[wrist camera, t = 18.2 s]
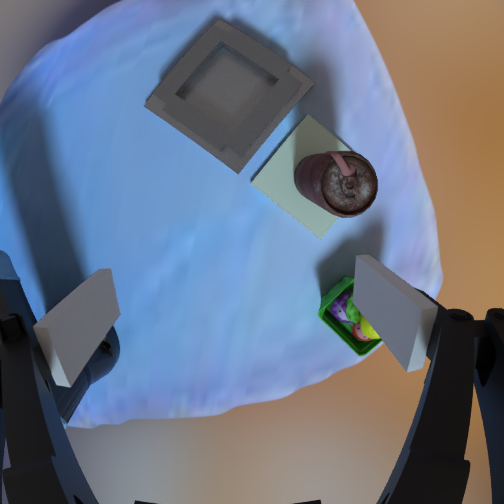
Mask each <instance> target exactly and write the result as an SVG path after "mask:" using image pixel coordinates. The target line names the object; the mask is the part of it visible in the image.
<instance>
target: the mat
mask: <svg viewBox="0 0 504 504" xmlns="http://www.w3.org/2000/svg"><path fill="white" fill-rule="evenodd" d="M326 151H351V150H349V149H348V148H347V147H346V146H345V145H344V144H343V143H342V142H341V141H339V140H338V139H337V138H336V137H335V136H334V135H333V134H331V133H330V132H329V131H328V130H327V129H326V128H325V127H323V126H322V125H321V124H320V123H319V122H317V121H316V120H315V119H314V118H313V117H311V116H310V115H309V114H307V115H306V117H305V118H304V119H303V120H302V121H301V123H300V124H299V125H298V126H297V127H296V128H295V130H294V131H293V132H292V133H291V134H290V136H289V137H288V138H287V139H286V140H285V142H284V143H283V144H282V145H281V146H280V148H279V149H278V150H277V151H276V153H275V154H274V155H273V156H272V157H271V159H270V160H269V161H268V162H267V164H266V165H265V166H264V167H263V169H262V170H261V171H260V172H259V174H258V175H257V176H256V177H255V179H254V180H253V181H252V182H251V184H252V185H253V186H254V187H256V188H257V189H258V190H259V191H261V192H262V193H263V194H265V195H266V196H267V197H268V198H270V199H271V200H272V201H273V202H275V203H276V204H277V205H278V206H280V207H281V208H282V209H283V210H285V211H286V212H287V213H288V214H290V215H291V216H292V217H293V218H295V219H296V220H297V221H298V222H300V223H301V224H302V225H303V226H304V227H306V228H307V229H308V230H309V231H310V232H312V233H313V234H314V235H315V236H317V237H318V238H319V239H320V240H321V238H322V237H323V236H324V235H325V234H326V232H327V231H328V230H329V229H330V228H331V226H332V225H333V224H334V223H335V222H336V220H337V219H338V218H339V217H338V216H335V215H332V214H331V213H329V212H327V211H326V210H324V209H323V208H321V207H319V206H318V205H316V204H315V203H313V202H311V201H310V200H308V199H306V198H305V197H304V196H302V195H301V194H300V193H299V191H298V190H297V188H296V186H295V183H294V172H295V169H296V167H297V165H298V164H299V162H300V161H301V160H302V159H304V158H305V157H307V156H310V155H314V154H320V153H325V152H326Z"/></svg>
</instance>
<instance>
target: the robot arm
mask: <svg viewBox="0 0 504 504" xmlns="http://www.w3.org/2000/svg"><path fill="white" fill-rule="evenodd" d="M352 302H353V304H354V305H355V306H356V307H357V309H358V310H359V311H360V312H361V314H362V315H363V316H364V317H365V319H366V320H367V321H368V322H369V324H370V325H371V326H372V328H373V329H374V330H375V331H376V333H377V334H378V335H379V337H380V338H381V339H382V340H383V342H384V343H385V344H386V346H387V347H388V348H389V350H390V351H391V352H392V353H393V355H394V356H395V357H396V359H397V360H398V361H399V363H400V364H401V365H402V367H403V368H404V369H405V371H406V372H410V371H414V370H418V369H421V368H423V364H424V361H425V358H426V356H427V357H428V358H429V359H430V360H431V363H430V366H429V369H428V372H427V375H426V378H425V381H424V388H423V391H422V395H421V398H420V401H419V404H418V407H417V410H416V413H415V416H414V419H413V422H412V425H411V427H410V430H409V433H408V436H407V438H406V441H405V443H404V446H403V448H402V451H401V453H400V455H399V458H398V460H397V462H396V465H395V467H394V469H393V471H392V474H391V476H390V478H389V480H388V482H387V484H386V486H385V488H384V490H383V492H382V494H381V496H380V498H379V500H378V502H377V503H376V504H462V501H463V497H464V493H465V489H466V485H467V481H468V477H469V472H470V462H469V461H468V460H464V454H465V450H466V444H467V438H468V432H469V425H470V417H471V408H472V397H473V384H474V386H475V389H476V393H477V398H478V402H479V406H480V411H481V415H482V420H483V426H484V431H485V436H486V443H487V449H488V457H489V465H490V475H491V488H492V504H504V309H502V308H491V309H489V310H488V311H487V314H486V318H485V320H474V318H473V316H472V315H471V314H470V313H468V312H466V311H464V310H461V309H448V310H447V309H445V308H444V307H443V306H442V305H440V304H439V303H438V302H437V301H434V299H433V298H431V297H429V295H428V294H426V293H425V292H424V291H421V290H419V289H417V288H414V287H412V286H411V285H410V284H408V283H407V282H406V281H404V280H403V279H402V278H400V277H399V276H398V275H396V274H395V273H394V272H392V271H391V270H390V269H388V268H387V267H385V266H384V265H383V264H381V263H380V262H379V261H377V260H376V259H374V258H373V257H372V256H370V255H369V254H367V255H356V263H355V278H354V290H353V301H352ZM119 316H120V310H119V306H118V301H117V297H116V292H115V287H114V282H113V277H112V272H111V269H98V270H97V271H96V272H95V273H94V274H92V275H91V276H90V277H89V278H88V279H86V280H85V281H84V282H83V283H82V284H80V285H79V286H78V287H77V288H76V289H74V290H73V291H72V292H71V293H70V294H69V295H68V296H66V297H65V298H64V299H63V300H62V301H60V302H58V303H57V304H56V305H55V306H53V307H52V308H51V309H50V310H49V311H48V313H47V314H46V315H45V316H44V317H43V318H41V319H40V320H39V321H38V322H37V320H36V318H35V316H34V314H33V312H32V309H31V307H30V305H29V303H28V300H27V298H26V296H25V293H24V291H23V288H22V286H21V283H20V278H19V277H18V276H17V274H16V271H15V269H14V267H13V265H12V262H11V259H10V257H9V256H8V254H7V253H5V252H4V251H2V250H0V504H2V471H3V481H4V486H5V490H6V495H7V499H8V503H9V504H99V503H98V501H97V500H96V498H95V496H94V494H93V492H92V490H91V488H90V486H89V484H88V483H87V480H86V478H85V476H84V474H83V472H82V470H81V468H80V466H79V464H78V461H77V459H76V457H75V454H74V452H73V450H72V447H71V445H70V442H69V440H68V437H67V435H66V432H65V429H66V427H67V424H68V422H69V420H70V418H71V417H72V415H73V413H74V411H75V410H76V408H77V406H78V405H79V403H80V401H81V399H82V398H83V396H84V394H85V393H86V391H87V389H88V388H89V386H90V385H91V384H93V383H94V382H96V381H97V380H99V379H101V378H102V377H104V376H105V375H107V374H108V373H109V372H110V371H111V370H112V369H113V367H114V366H115V364H116V362H117V360H118V358H119V353H120V347H119V341H118V338H117V335H116V333H115V331H114V329H113V328H112V325H113V324H114V323H115V321H116V320H117V318H118V317H119ZM5 439H6V440H7V447H8V453H9V458H10V464H11V467H10V468H7V469H4V470H2V469H3V457H4V447H5ZM134 504H156V503H148V502H141V501H135V503H134ZM294 504H321V501H320V500H315V501H309V502H302V503H294Z"/></svg>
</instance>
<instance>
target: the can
mask: <svg viewBox="0 0 504 504" xmlns="http://www.w3.org/2000/svg"><path fill="white" fill-rule="evenodd" d="M294 183H295V186H296V188H297V190H298V191H299V193H300V194H301V195H302V196H304V197H305V198H306V199H308V200H310V201H311V202H313V203H315V204H316V205H318V206H319V207H321V208H323V209H324V210H326V211H327V212H329V213H331V214H332V215H335V216H338V217H341V218H351V217H355V216H357V215H360V214H362V213H363V212H364V211H366V210H367V209H368V208H369V207H370V206H371V205H372V203H373V202H374V200H375V198H376V195H377V191H378V179H377V176H376V173H375V170H374V168H373V167H372V165H371V164H370V162H369V161H368V160H367V159H366V158H364V157H363V156H362V155H361V154H358V153H355V152H353V151H326V152H325V153H320V154H314V155H310V156H307V157H305V158H304V159H302V160H301V161H300V162H299V164H298V165H297V167H296V169H295V172H294Z"/></svg>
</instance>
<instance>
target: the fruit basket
mask: <svg viewBox="0 0 504 504" xmlns="http://www.w3.org/2000/svg"><path fill="white" fill-rule="evenodd" d="M353 290H354V278H352V277H349V276H345V277H344V278H343V279H342V281H340V282H338V283H337V284H336V285H335V286H334V287H333V288H332V289H330V290H329V292H328V293H327V295H324V296H323V297H322V298H321V305H320V309H319V312H318V316H319V318H320V319H321V320H322V321H323V322H324V323H325V324H326V325H327V326H328V327H330V328H331V329H332V330H333V331H334V332H335V333H336V334H337V335H338V336H339V337H340V338H341V339H342V340H343V341H344V342H345V343H346V344H347V345H348V346H349V347H350V348H351V349H352V350H353V351H354V352H355V353H356V354H357V355H358V356H364V355H366V354H367V353H369V352H370V351H371V350H372V349H373V348H374V347H376V346H377V345H378V344H379V343H380V342H382V341H383V340H382V339H381V338H380V337H379V335H378V334H377V333H376V331H375V330H374V329H373V328H372V326H371V325H370V324H369V322H368V321H367V320H366V319H365V317H364V316H363V315H362V314H361V312H360V311H359V310H358V309H357V307H356V306H355V305H354V304H353V302H352V301H353Z"/></svg>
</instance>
